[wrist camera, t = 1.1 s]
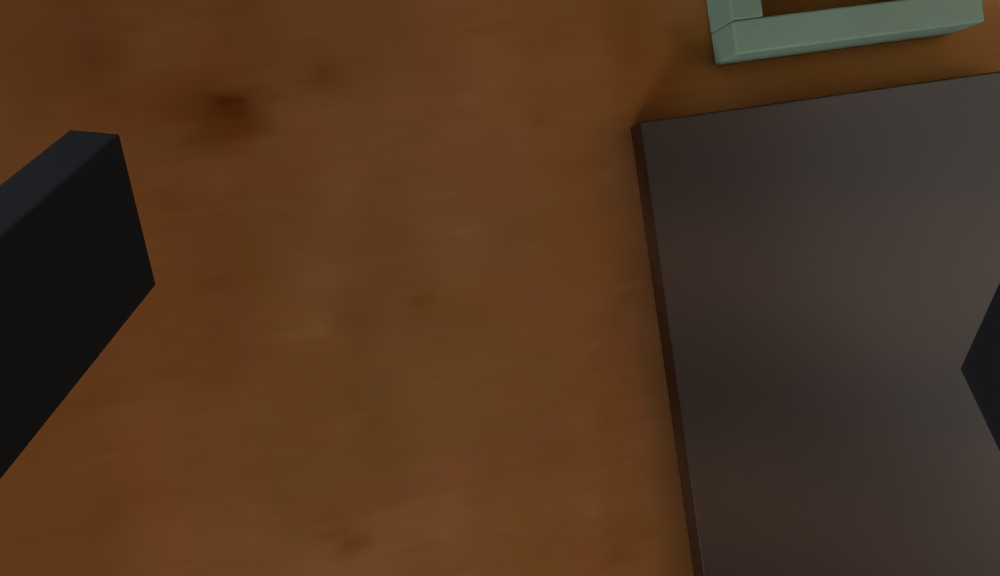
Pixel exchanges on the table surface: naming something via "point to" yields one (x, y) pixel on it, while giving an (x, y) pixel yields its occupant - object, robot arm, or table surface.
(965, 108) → the serving board
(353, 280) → the table surface
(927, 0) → the cup rack
